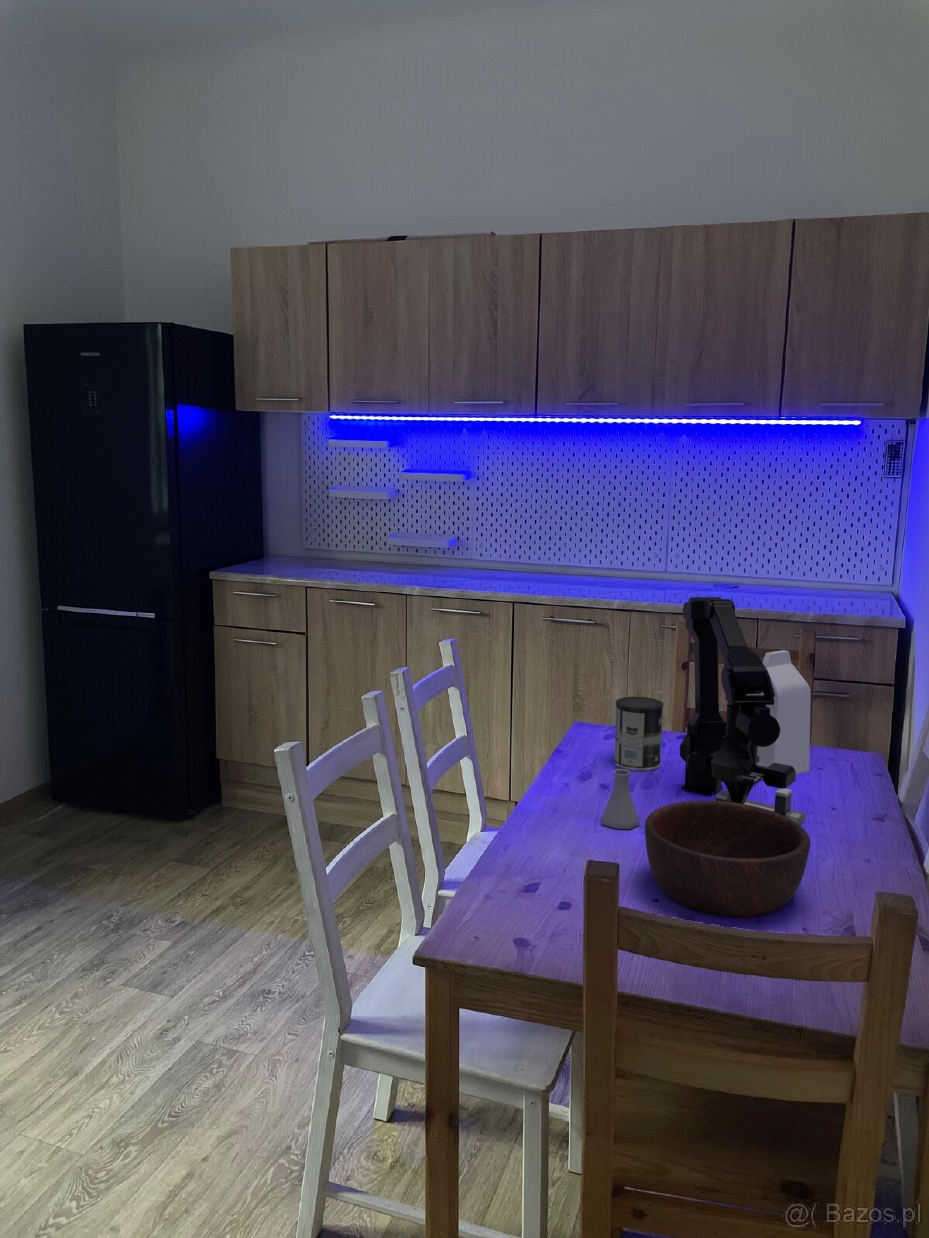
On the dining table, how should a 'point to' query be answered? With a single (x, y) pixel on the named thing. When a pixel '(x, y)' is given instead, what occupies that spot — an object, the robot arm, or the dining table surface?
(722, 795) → the block
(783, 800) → the breaker far
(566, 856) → the dining table surface
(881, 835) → the dining table surface
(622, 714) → the coffee can
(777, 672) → the milk
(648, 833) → the wooden bowl
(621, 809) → the flask
